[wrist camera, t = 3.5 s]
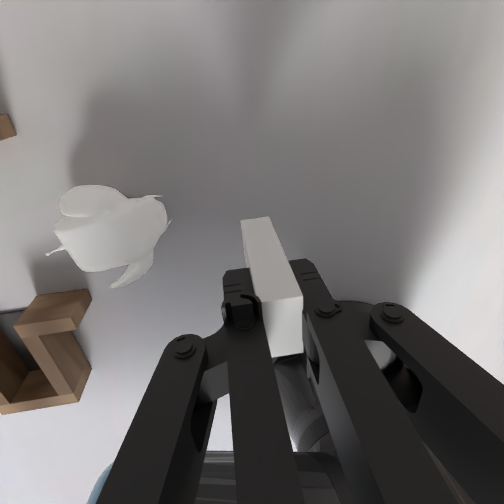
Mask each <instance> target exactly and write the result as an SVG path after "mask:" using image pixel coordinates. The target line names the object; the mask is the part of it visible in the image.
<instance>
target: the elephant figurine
mask: <svg viewBox="0 0 504 504" xmlns="http://www.w3.org/2000/svg"><path fill="white" fill-rule="evenodd" d="M155 197H162V196H159V195H146V196H144V197H141V198H130V199H128V198H126V197H125V196H124V195H123V194H121V193H120V192H119V191H118V190H116V189H114V188H111V187H108V186H102V185H81V186H76V187H73V188H71V189H69V190H68V191H67V192H66V193H65V194H64V195H63V196H62V198H61V199H60V202H59V208H60V211H61V213H62V214H63V215H65V216H64V217H63V218H62V219H60V220H59V221H58V222H57V223H56V224H55V225H54V228H53V230H54V232H55V234H56V235H57V237H58V238H59V240H60V241H61V243H62V245H61V246H60V247H59V248H57V249H55V250H53V251H52V252H47V253H46V256H49V255H50V254H51V253H53V252H56V251H59V250H67V251H68V253H69V254H70V256H71V257H72V259H73V260H74V261H75V263H76V264H77V266H78V267H79V268H80V269H81V270H83V271H86V272H98V271H104V270H109V269H112V268H116V267H120V266H124V265H128V267H127V269H126V271H125V272H124V274H123V275H122V276H121V278H120V279H119V280H118V281H116V282H114V283H112V284H111V285H110V288H120V287H123V286H125V285H128V284H130V283H132V282H134V281H136V280H137V279H139V278H140V277H142V276H143V275H144V274H145V273H146V272H147V271H148V270H149V269H150V267H151V265H152V263H153V259H154V256H153V250H154V248H155V246H156V243H157V241H158V240H159V238H160V236H161V235H162V233H164V232H165V230H166V229H167V227H168V225H169V224H170V222H171V221H172V219H171V220H170V221H169V222H168V223H167V213H166V210H165V207H164V205H163V204H162V203H161V202H159V201H157V200H155V199H154V198H155Z"/></svg>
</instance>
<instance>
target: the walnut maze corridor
mask: <svg viewBox="0 0 504 504" xmlns="http://www.w3.org/2000/svg"><path fill="white" fill-rule="evenodd" d="M13 136H16V132H15V130H14V128H13V126H12V124H11V121H10V119H9V117H8V115H7V114H6V115H0V140H3V139H6V138H9V137H13ZM91 301H92V299H91V297H90V295H89V292H88V290H87V289H81V290H74V291H68V292H61V293H54V294H47V295H40V296H36V297H35V299H34V300H33V301H32V303H31V304H30V305H29V306H28V308H27V309H26V310H22V311H15V312H9V313H2V314H0V413H1V414H2V415H5V414H11V413H17V412H23V411H29V410H35V409H41V408H47V407H52V406H58V405H64V404H70V403H76V402H79V400H80V398H81V395H82V393H83V390H84V388H85V385H86V382H87V380H88V377H89V375H90V372H91V370H92V368H91V366H90V365H89V363H88V361H87V359H86V357H85V355H84V353H83V352H82V350H81V348H80V346H79V344H78V342H77V340H76V338H75V337H74V335H73V333H72V331H71V330H77V328H78V326H79V324H80V322H81V320H82V319H83V317H84V315H85V313H86V311H87V309H88V307H89V305H90V303H91Z"/></svg>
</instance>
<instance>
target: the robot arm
mask: <svg viewBox="0 0 504 504" xmlns="http://www.w3.org/2000/svg"><path fill="white" fill-rule="evenodd" d="M240 222H241V230H242V239H243V247H244V255H245V263H246V268H242V269H236V270H229V271H226V273H225V275H224V277H223V291H224V301H223V303H222V307H221V310H222V315H223V320H224V325H223V326H222V327H221V329H220V330H219V331H217V332H216V333H214V334H213V335H211V336H209V337H206V338H204V339H202V338H201V337H199V336H198V335H194V334H186V335H181V336H179V337H176V338H175V339H173V340H172V341H171V342H169V343H168V345H167V346H166V348H165V349H164V352H163V354H162V356H161V358H160V360H159V363H158V365H157V367H156V369H155V372H154V374H153V376H152V378H151V381H150V383H149V385H148V387H147V389H146V392H145V394H144V396H143V398H142V401H141V403H140V405H139V407H138V410H137V412H136V414H135V416H134V418H133V421H132V423H131V425H130V427H129V430H128V432H127V434H126V436H125V439H124V441H123V443H122V445H121V448H120V450H119V452H118V454H117V456H116V459H115V461H114V462H113V463H112V464H110V465H109V466H108V467H107V468H106V469H105V471H104V472H103V473H102V474H101V476H100V477H99V479H98V480H97V482H96V484H95V486H94V488H93V490H92V492H91V495H90V497H89V500H88V502H87V504H504V385H503V384H502V383H501V382H500V381H498V380H497V379H496V378H494V377H493V376H492V375H491V374H489V373H488V372H487V371H486V370H484V369H483V368H482V367H481V366H479V365H478V364H477V363H475V362H474V361H473V360H472V359H470V358H469V357H468V356H467V355H465V354H464V353H463V352H462V351H460V350H459V349H458V348H457V347H455V346H454V345H453V344H451V343H450V342H449V341H448V340H446V339H445V338H444V337H443V336H441V335H440V334H439V333H438V332H436V331H435V330H434V329H432V328H431V327H430V326H429V325H427V324H426V323H425V322H424V321H422V320H421V319H420V318H419V317H417V316H416V315H415V314H413V313H412V312H411V311H410V310H408V309H407V308H405V307H403V306H402V305H399V304H396V303H390V302H383V303H378V304H376V305H375V306H373V305H370V304H366V303H362V302H352V301H344V302H338V301H336V300H333V298H332V297H331V295H330V293H329V291H328V289H327V287H326V286H325V284H324V282H323V280H322V279H321V277H320V275H319V273H318V271H317V269H316V268H315V266H314V264H313V263H311V262H310V261H308V260H307V259H299V260H292V261H288V260H287V257H286V255H285V252H284V250H283V248H282V245H281V243H280V241H279V238H278V236H277V234H276V231H275V229H274V227H273V224H272V222H271V220H270V217H269V216H268V217H260V218H253V219H246V220H240ZM228 393H229V395H230V409H231V424H232V438H233V451H206V450H207V446H208V441H209V437H210V432H211V428H212V423H213V419H214V414H215V410H216V405H217V399H218V398H220V397H222V396H224V395H226V394H228ZM289 434H290V436H291V437H292V439H293V441H294V443H295V445H296V448H297V452H293V449H292V445H291V440H290V436H289Z"/></svg>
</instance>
